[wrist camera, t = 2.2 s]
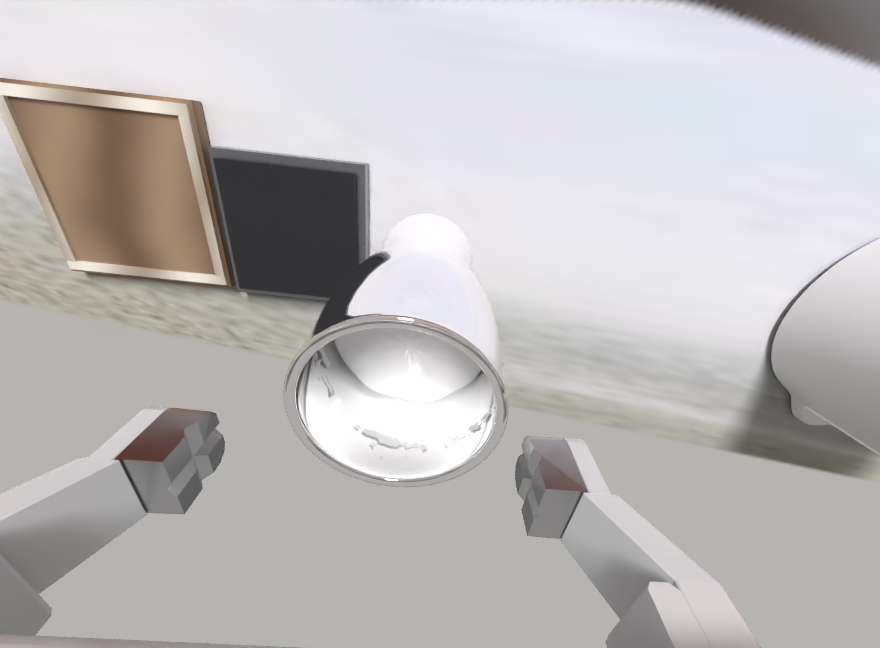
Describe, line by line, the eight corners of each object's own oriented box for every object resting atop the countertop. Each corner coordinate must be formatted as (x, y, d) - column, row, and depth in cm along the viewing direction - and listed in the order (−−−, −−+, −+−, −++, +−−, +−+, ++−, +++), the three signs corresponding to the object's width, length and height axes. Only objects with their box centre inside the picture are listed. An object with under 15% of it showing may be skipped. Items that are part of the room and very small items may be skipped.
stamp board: (200, 101, 19) (188, 99, 18) (237, 282, 24) (229, 288, 23) (1, 78, 19) (-22, 75, 18) (82, 266, 24) (68, 271, 23)
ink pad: (368, 163, 20) (363, 165, 19) (369, 298, 24) (364, 307, 23) (218, 146, 20) (201, 146, 19) (245, 286, 24) (233, 294, 23)
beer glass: (405, 317, 25) (356, 511, 12) (357, 233, 22) (221, 365, 9) (492, 282, 24) (546, 459, 10) (453, 186, 21) (458, 264, 7)
